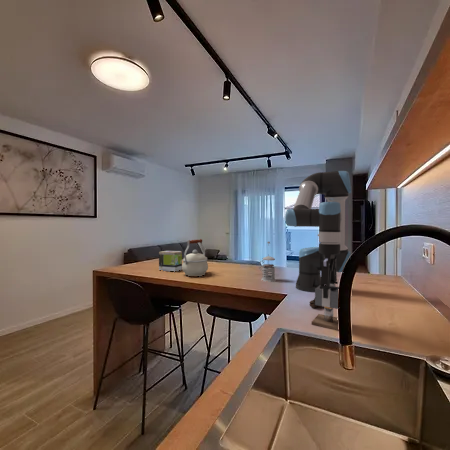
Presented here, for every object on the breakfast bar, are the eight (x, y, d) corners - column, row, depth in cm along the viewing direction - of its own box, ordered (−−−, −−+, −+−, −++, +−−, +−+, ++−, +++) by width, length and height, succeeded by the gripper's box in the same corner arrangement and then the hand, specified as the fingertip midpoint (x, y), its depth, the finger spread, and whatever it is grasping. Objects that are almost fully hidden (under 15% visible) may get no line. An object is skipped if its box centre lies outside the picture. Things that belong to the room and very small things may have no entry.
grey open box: (320, 299, 105) (320, 284, 105) (342, 303, 100) (342, 287, 100) (315, 304, 98) (315, 288, 98) (337, 309, 94) (338, 292, 94)
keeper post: (325, 318, 102) (325, 301, 102) (334, 320, 100) (334, 302, 100) (323, 320, 99) (323, 303, 99) (332, 322, 97) (332, 305, 97)
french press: (271, 282, 164) (272, 242, 164) (255, 279, 171) (255, 241, 171) (278, 279, 172) (279, 241, 171) (263, 277, 179) (263, 240, 178)
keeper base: (318, 316, 107) (318, 313, 107) (345, 321, 101) (345, 319, 101) (311, 324, 98) (311, 321, 98) (340, 330, 93) (340, 328, 93)
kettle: (195, 279, 173) (195, 241, 172) (174, 276, 183) (174, 240, 182) (216, 272, 194) (216, 238, 193) (197, 270, 204) (197, 238, 203)
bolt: (310, 312, 117) (332, 305, 125) (318, 309, 113) (340, 302, 121) (305, 299, 119) (326, 293, 127) (312, 296, 115) (334, 290, 123)
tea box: (182, 270, 204) (182, 251, 204) (174, 272, 195) (174, 252, 195) (166, 268, 210) (166, 250, 210) (158, 270, 201) (158, 251, 201)
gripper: (325, 241, 110) (325, 295, 110) (311, 244, 93) (310, 309, 93) (345, 241, 106) (344, 298, 106) (333, 245, 88) (333, 313, 89)
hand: (328, 303), depth 99 cm, fingers closed on grey open box, 8 cm apart
